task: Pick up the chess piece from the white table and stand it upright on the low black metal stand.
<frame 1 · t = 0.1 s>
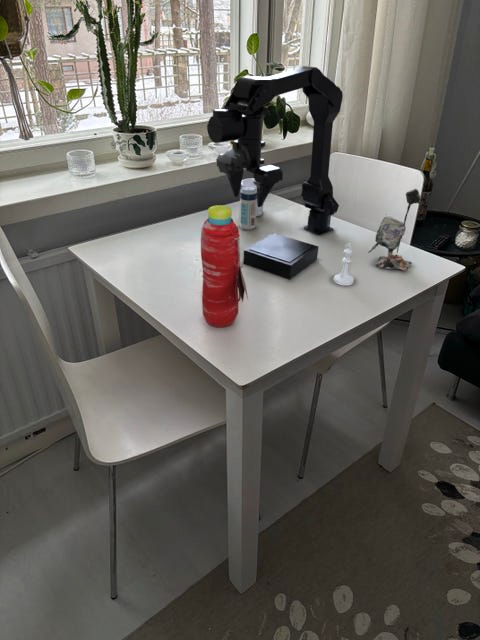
hand: (247, 201, 123), 15 cm above the table, tool pointing down, fingers open, 9 cm apart
water bottle: (225, 323, 103), on the table
stand: (280, 262, 128), on the table
white supplement bottle: (247, 228, 147), on the table
dixie cup: (253, 213, 157), on the table
grey mottled stone figure: (388, 264, 128), on the table
chess piece: (343, 281, 120), on the table
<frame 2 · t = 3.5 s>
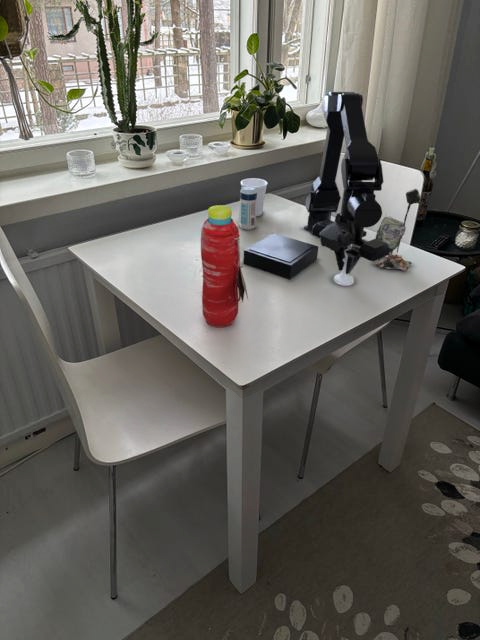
hand: (344, 271, 118), 3 cm above the table, tool pointing down, fingers closed on chess piece
chess piece: (343, 281, 120), on the table, touching gripper
everything else where it was.
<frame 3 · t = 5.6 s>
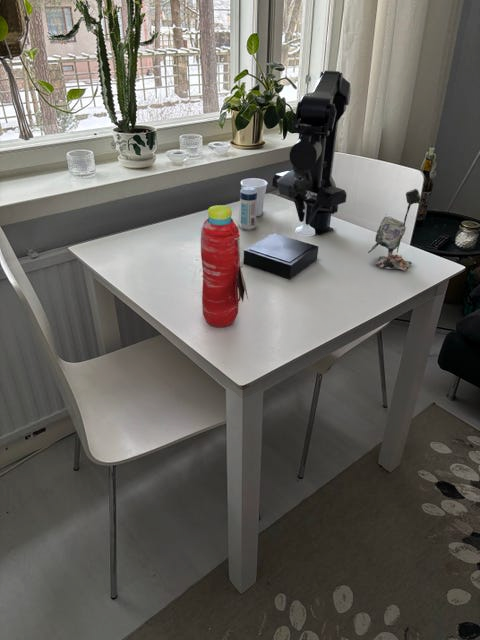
hand: (304, 222, 118), 12 cm above the table, tool pointing down, fingers closed on chess piece
chess piece: (305, 233, 120), point 9 cm above the table, touching gripper
everything else where it was.
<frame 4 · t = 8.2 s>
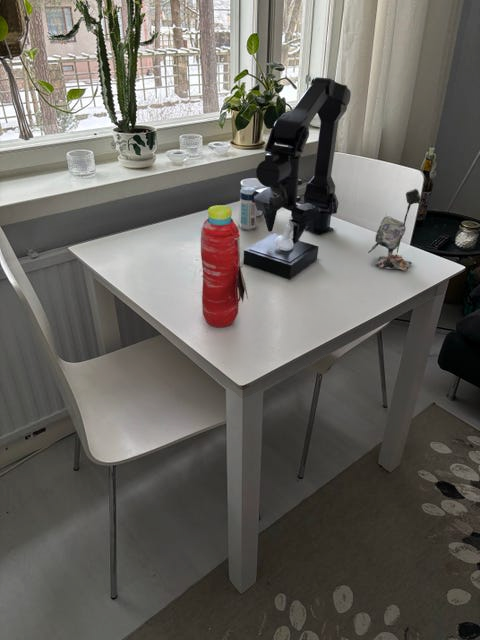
hand: (282, 237, 124), 7 cm above the table, tool pointing down, fingers open, 9 cm apart
chess piece: (283, 244, 125), point 5 cm above the table, touching gripper, stand
everything else where it was.
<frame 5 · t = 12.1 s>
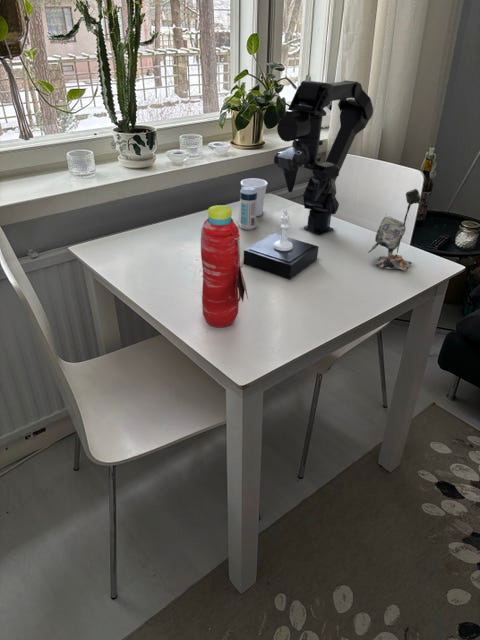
hand: (302, 196, 132), 13 cm above the table, tool pointing down, fingers open, 9 cm apart
chess piece: (283, 247, 126), point 4 cm above the table, touching stand
everything else where it was.
at the end: chess piece inside the target area on the stand (0.5 cm from its centre), point 4.0 cm above the stand's base; chess piece tilted 0°; the gripper is holding nothing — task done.
